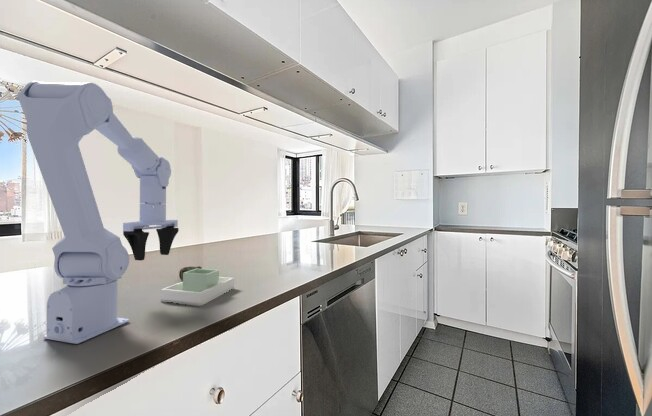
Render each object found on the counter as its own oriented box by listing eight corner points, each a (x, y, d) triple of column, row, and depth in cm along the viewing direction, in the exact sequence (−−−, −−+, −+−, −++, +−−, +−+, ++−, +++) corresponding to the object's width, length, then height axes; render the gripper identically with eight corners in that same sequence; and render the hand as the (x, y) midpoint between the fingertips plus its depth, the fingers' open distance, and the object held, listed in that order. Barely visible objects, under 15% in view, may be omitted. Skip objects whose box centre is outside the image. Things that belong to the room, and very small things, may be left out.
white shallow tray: (200, 306, 64) (200, 293, 64) (160, 301, 66) (160, 289, 66) (234, 288, 77) (234, 277, 77) (200, 285, 80) (200, 275, 80)
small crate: (206, 296, 69) (207, 274, 69) (182, 294, 70) (182, 272, 70) (218, 290, 74) (219, 270, 74) (196, 288, 75) (196, 268, 75)
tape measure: (204, 281, 85) (204, 269, 85) (179, 284, 82) (179, 271, 82) (202, 276, 91) (202, 264, 91) (179, 278, 88) (179, 266, 88)
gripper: (140, 204, 62) (140, 263, 63) (187, 204, 76) (186, 253, 77) (115, 203, 64) (115, 262, 64) (165, 204, 78) (165, 251, 78)
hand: (152, 257), depth 71 cm, fingers open, 7 cm apart
